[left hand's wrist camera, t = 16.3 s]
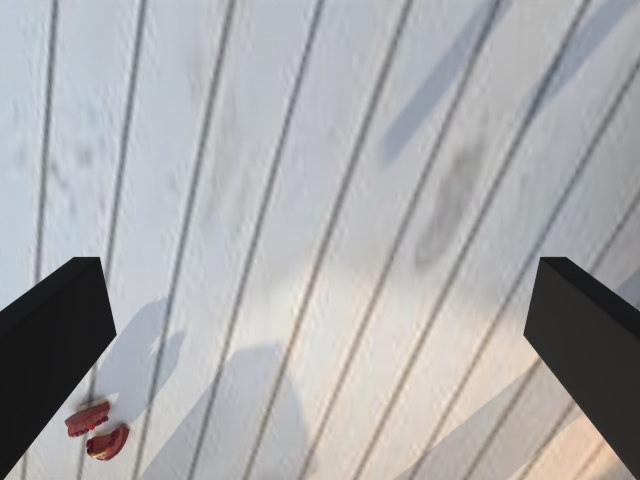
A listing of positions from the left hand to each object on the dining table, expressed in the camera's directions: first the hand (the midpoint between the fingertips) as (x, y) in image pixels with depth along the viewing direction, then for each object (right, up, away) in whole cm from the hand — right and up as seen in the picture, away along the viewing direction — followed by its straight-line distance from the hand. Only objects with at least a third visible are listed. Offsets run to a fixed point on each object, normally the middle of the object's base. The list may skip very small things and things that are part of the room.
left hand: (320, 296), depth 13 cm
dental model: (-30, -24, +45) cm, 59 cm away
